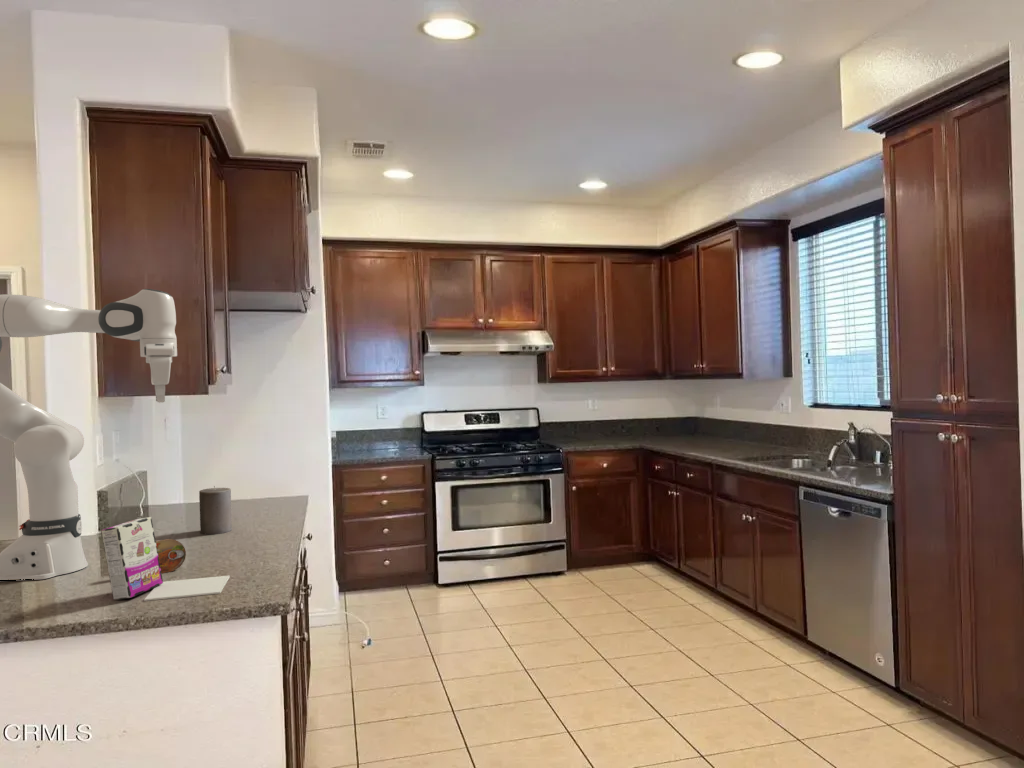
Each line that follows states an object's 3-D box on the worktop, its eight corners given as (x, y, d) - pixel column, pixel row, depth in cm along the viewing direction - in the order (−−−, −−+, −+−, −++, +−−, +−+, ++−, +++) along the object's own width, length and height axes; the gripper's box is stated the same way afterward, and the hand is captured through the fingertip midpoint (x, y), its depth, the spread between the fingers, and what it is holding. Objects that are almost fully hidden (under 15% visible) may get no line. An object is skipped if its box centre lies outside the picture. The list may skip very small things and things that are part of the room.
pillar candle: (194, 535, 227) (193, 488, 227) (208, 528, 237) (207, 483, 237) (224, 534, 227) (223, 488, 227) (237, 527, 237) (235, 483, 236)
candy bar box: (146, 585, 171) (135, 518, 171) (164, 583, 170) (153, 516, 170) (111, 600, 160) (99, 529, 160) (130, 598, 159) (118, 526, 159)
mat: (144, 601, 159) (144, 599, 159) (160, 583, 173) (159, 581, 173) (220, 593, 163) (220, 591, 163) (229, 577, 176) (229, 575, 176)
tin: (121, 580, 177) (119, 547, 177) (120, 577, 180) (118, 544, 180) (186, 569, 185) (185, 537, 185) (184, 567, 188) (183, 535, 188)
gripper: (144, 352, 196) (146, 401, 197) (146, 348, 178) (147, 403, 179) (170, 351, 199) (171, 400, 200) (173, 348, 181) (175, 402, 182)
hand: (160, 402), depth 189 cm, fingers open, 8 cm apart
